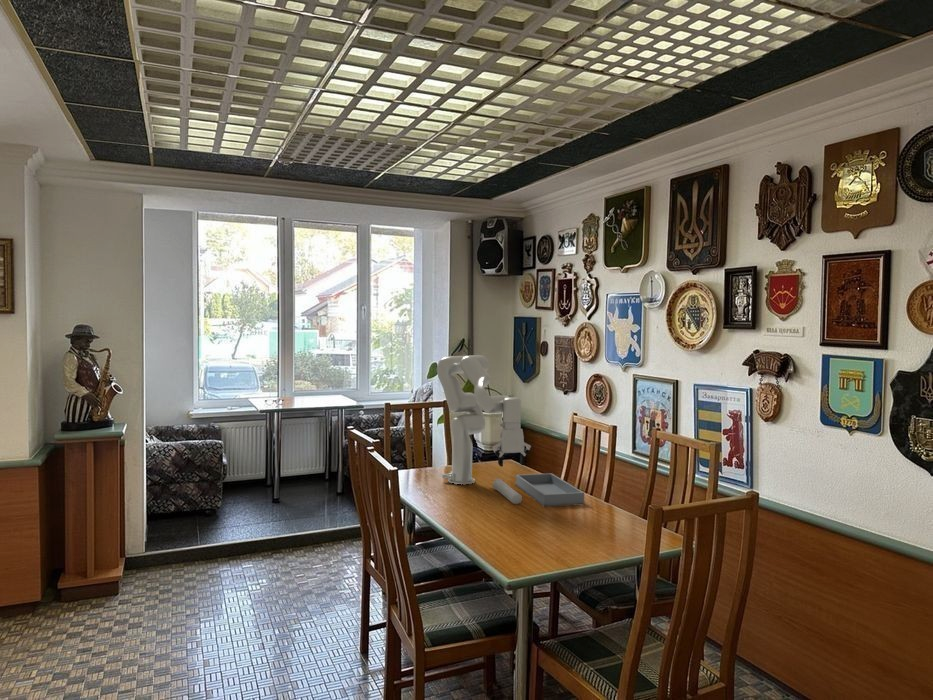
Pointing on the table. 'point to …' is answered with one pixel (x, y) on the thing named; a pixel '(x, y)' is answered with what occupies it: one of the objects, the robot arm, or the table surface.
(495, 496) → the table surface
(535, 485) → the bin
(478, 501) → the table surface
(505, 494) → the tube
